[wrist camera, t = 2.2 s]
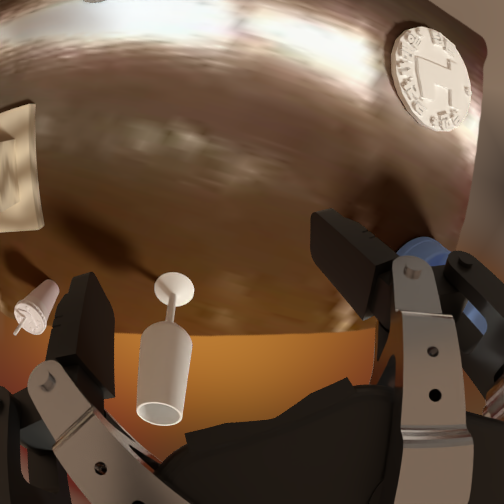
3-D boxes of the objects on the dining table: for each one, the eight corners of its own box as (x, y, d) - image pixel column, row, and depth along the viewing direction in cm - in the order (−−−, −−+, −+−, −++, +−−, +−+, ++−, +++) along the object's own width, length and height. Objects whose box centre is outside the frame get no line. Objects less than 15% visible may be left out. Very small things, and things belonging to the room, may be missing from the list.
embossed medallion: (448, 148, 42) (459, 151, 40) (374, 95, 37) (384, 95, 34) (469, 69, 35) (479, 69, 32) (401, 9, 30) (411, 5, 27)
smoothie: (47, 266, 40) (9, 312, 28) (71, 292, 43) (40, 343, 31) (32, 284, 41) (-3, 329, 29) (54, 308, 44) (25, 357, 31)
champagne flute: (170, 312, 48) (157, 434, 26) (146, 284, 45) (114, 405, 23) (202, 295, 47) (205, 420, 25) (178, 264, 44) (162, 388, 22)
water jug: (448, 254, 52) (536, 326, 27) (408, 310, 57) (480, 397, 32) (414, 220, 47) (527, 300, 22) (367, 287, 52) (452, 394, 27)
